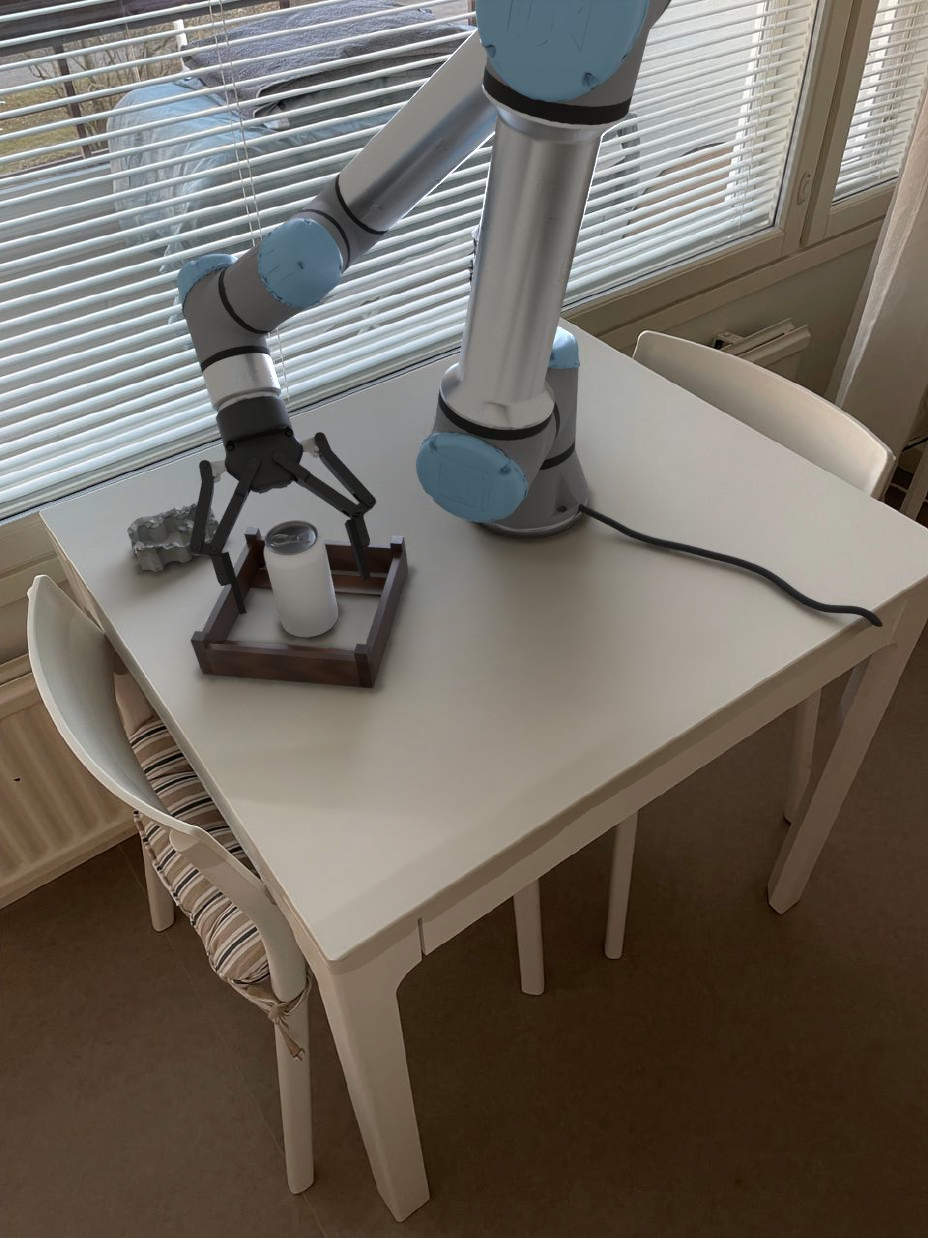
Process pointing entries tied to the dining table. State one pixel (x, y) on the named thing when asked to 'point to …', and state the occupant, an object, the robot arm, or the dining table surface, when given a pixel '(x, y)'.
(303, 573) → the can
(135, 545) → the egg carton
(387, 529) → the dining table surface
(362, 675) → the crate
